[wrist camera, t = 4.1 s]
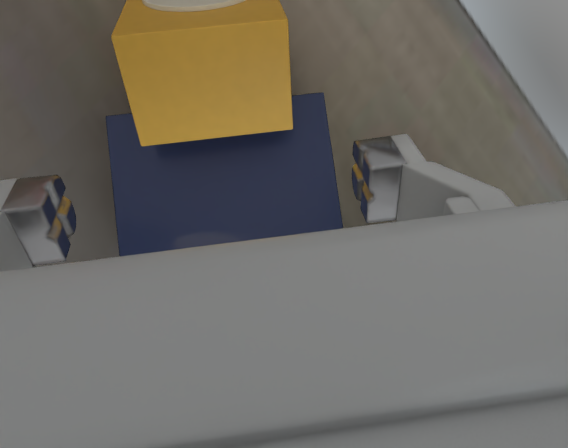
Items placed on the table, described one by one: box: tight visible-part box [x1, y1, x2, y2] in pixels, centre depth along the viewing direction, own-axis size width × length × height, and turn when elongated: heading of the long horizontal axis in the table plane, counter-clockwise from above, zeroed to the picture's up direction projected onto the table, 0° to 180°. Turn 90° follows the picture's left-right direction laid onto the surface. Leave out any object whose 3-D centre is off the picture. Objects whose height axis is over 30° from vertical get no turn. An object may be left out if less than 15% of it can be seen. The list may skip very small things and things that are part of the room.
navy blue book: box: [106, 93, 343, 256], centre depth 25 cm, size 8×10×5 cm
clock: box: [111, 0, 293, 146], centre depth 23 cm, size 10×6×10 cm, turn 8°
